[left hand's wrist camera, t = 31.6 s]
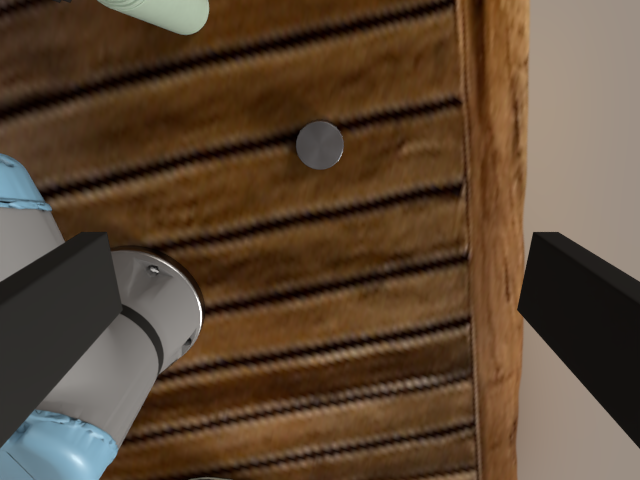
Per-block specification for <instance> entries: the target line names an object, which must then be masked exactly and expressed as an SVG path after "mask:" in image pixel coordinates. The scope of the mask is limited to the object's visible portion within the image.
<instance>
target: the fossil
mask: <svg viewBox="0 0 640 480" xmlns="http://www.w3.org/2000/svg"><path fill="white" fill-rule="evenodd" d="M190 480H231V479H222V478H210V477H203V478H195V479H190Z"/></svg>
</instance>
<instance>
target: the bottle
mask: <svg viewBox="0 0 640 480" xmlns="http://www.w3.org/2000/svg"><path fill="white" fill-rule="evenodd" d="M97 1H99V2H100V3H101V4H103V5H105V6H107V7H109V8H111V9H114V10H116V11H119V12H122V13H124V14H127V15H130V16H132V17H135V18H138V19H140V20H143V21H146V22H148V23H151V24H154V25H156V26H159V27H162V28H164V29H167V30H170V31H172V32H175V33H178V34H182V35H189V34H193V33H195V32H197V31H199V30H200V29H201V28H202V27H203V26H204V24H205V23H206V20H207V18H208V13H209V3H208V0H97Z"/></svg>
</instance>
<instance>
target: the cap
mask: <svg viewBox="0 0 640 480" xmlns="http://www.w3.org/2000/svg"><path fill="white" fill-rule="evenodd" d="M297 137H298V138H297V140H296V149H297V153H298V156H299V158H300V159H301V161H302V162H303V163H304V164H305V165H307V166H308V167H311V168H313V169H326V168H329V167H331V166H333V165H334V164H335V163H336V162H337V161H338V160H339V159H340V157H341V155H342V152H343V147H344V146H343V142H344V141H343V139H342V135H341V134H340V131H339V130H338V129H337V127H336V126H335V125H333V124H332V122H331V123H330V122H328V121H325V120H323V119H322V120H315V121H311V122H309V123H307V124H306V125H305V126H303V128H302V129H301V130H300V133H299V135H298V136H297Z"/></svg>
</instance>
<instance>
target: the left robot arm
mask: <svg viewBox="0 0 640 480" xmlns="http://www.w3.org/2000/svg"><path fill="white" fill-rule="evenodd" d="M50 211H52V209H51V206H50V205H49V204H47V203H45V201H44V199H43V198H42V196H41V194H40V193H39V191H38V189H37V188H36V186H35V184H34V182H33V181H32V179H31V177H30V175H29V174H28V172H27V170H26V169H25V168H24V166H23V165H22V164H21V163H19V162H18V161H17V160H15V159H14V158H12V157H10V156H7V155H4V154H1V153H0V480H99V478H100V477H101V475H102V474H103V472H104V471H105V469H106V467H107V466H108V465H109V464H111V462H112V461H113V459H114V458H115V457H116V455H117V452H118V450H119V448H120V446H121V444H122V442H123V440H124V438H125V437H126V435H127V433H128V431H129V429H130V427H131V425H132V423H133V422H134V420H135V418H136V416H137V414H138V412H139V410H140V408H141V406H142V405H143V403H144V401H145V399H146V397H147V395H148V393H149V391H150V390H151V388H152V386H153V384H154V382H155V380H156V378H157V377H158V375H159V373H162V371H163V370H164V371H165V370H166V368H167V367H168V368H169V366H170V365H171V364H172V363H174V362H175V361H176V360H178V359H179V358H180V357H181V356H183V355H184V354H185V353H186V352H187V351H188V350H189V349H190V348H191V347H192V345H193V344H194V342H195V341H196V339H197V337H198V335H199V333H200V331H201V329H202V326H203V323H204V318H205V304H204V299H203V295H202V292H201V290H200V288H199V286H198V284H197V282H196V281H195V279H194V278H193V277H192V275H191V274H190V273H189V272H188V271H187V270H186V269H185V268H184V267H183V266H182V265H181V264H180V263H178V262H177V261H176V260H174V259H173V258H171V257H169V256H167V255H165V254H163V253H161V252H159V251H156V250H153V249H150V248H146V247H140V246H120V247H114V248H110V246H109V241H108V236H107V232H81V233H80V234H78V235H76V236H75V237H73V238H71V239H70V240H68V241H66V242H65V241H64V239H63V237H62V235H61V233H60V230H59V228H58V226H57V224H56V222H55V220H54V218H53V216H52V214H51V212H50ZM517 310H518V311H519V313H520V314H521V315H522V316H523V317H524V318H525V319H526V321H527V322H528V323H529V324H530V325H531V326H532V327H533V328H534V330H535V331H536V332H537V333H538V334H539V335H540V336H541V337H542V339H543V340H544V341H545V342H546V343H547V344H548V345H549V347H550V348H551V349H552V350H553V351H554V352H555V353H556V354H557V356H558V357H559V358H560V359H561V360H562V361H563V362H564V364H565V365H566V366H567V367H568V368H569V369H570V370H571V371H572V373H573V374H574V375H575V376H576V377H577V378H578V379H579V380H580V382H581V383H582V384H583V385H584V386H585V387H586V388H587V390H588V391H589V392H590V393H591V394H592V395H593V396H594V397H595V399H596V400H597V401H598V402H599V403H600V404H601V405H602V406H603V408H604V409H605V410H606V411H607V412H608V413H609V414H610V416H611V417H612V418H613V419H614V420H615V421H616V422H617V423H618V425H619V426H620V427H621V428H622V429H623V430H624V431H625V433H626V434H627V435H628V436H629V437H630V438H631V439H632V440H633V442H634V443H635V444H636V445H637V446H638V447H639V448H640V282H639V281H638V280H636V279H634V278H633V277H631V276H629V275H628V274H626V273H624V272H623V271H621V270H620V269H618V268H616V267H615V266H613V265H611V264H610V263H608V262H606V261H605V260H603V259H601V258H600V257H598V256H596V255H595V254H593V253H592V252H590V251H588V250H587V249H585V248H583V247H582V246H580V245H579V244H577V243H575V242H574V241H572V240H570V239H569V238H567V237H565V236H564V235H562V234H560V233H559V232H533V236H532V241H531V246H530V250H529V255H528V260H527V265H526V270H525V274H524V279H523V284H522V289H521V294H520V299H519V303H518V308H517ZM176 362H177V361H176ZM172 365H173V364H172ZM172 365H171V366H172Z"/></svg>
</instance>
